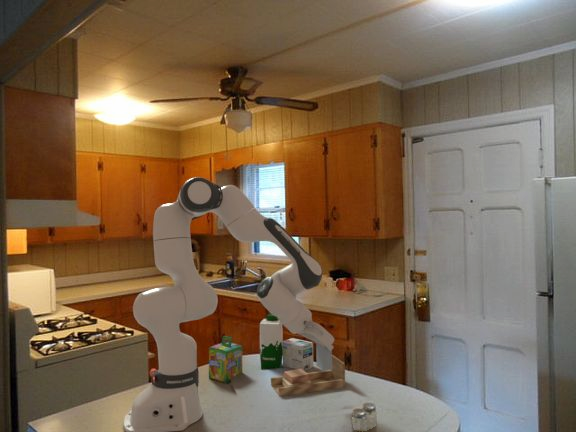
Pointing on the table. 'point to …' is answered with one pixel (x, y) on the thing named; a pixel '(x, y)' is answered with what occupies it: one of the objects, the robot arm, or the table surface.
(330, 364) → the tall board
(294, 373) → the offcut top
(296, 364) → the light bulb box
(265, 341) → the milk carton
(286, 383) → the offcut low
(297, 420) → the table surface
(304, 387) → the rack
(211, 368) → the chalk box
